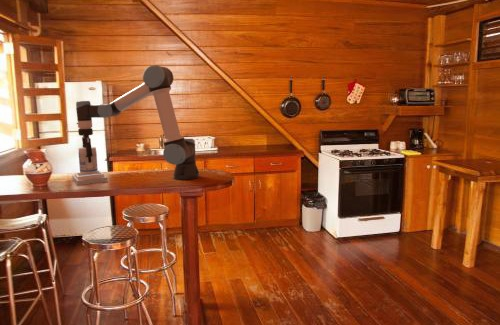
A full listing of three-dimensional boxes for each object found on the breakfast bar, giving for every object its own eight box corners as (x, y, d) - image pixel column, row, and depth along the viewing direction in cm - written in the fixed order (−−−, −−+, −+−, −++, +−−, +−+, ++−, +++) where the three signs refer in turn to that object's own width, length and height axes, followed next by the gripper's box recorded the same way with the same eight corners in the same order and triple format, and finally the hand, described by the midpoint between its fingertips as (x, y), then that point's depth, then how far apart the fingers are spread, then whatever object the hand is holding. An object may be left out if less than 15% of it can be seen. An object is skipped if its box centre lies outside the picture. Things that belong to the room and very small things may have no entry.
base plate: (107, 181, 223) (107, 174, 222) (77, 185, 215) (76, 178, 214) (100, 176, 240) (100, 169, 239) (72, 179, 232) (72, 172, 231)
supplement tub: (76, 174, 224) (74, 148, 222) (88, 171, 233) (86, 146, 230) (89, 174, 220) (87, 149, 218) (101, 171, 229) (99, 147, 227)
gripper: (75, 127, 230) (78, 164, 233) (81, 129, 211) (84, 170, 215) (89, 126, 233) (92, 163, 237) (95, 128, 215) (99, 168, 218)
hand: (88, 166), depth 226 cm, fingers closed on supplement tub, 9 cm apart
